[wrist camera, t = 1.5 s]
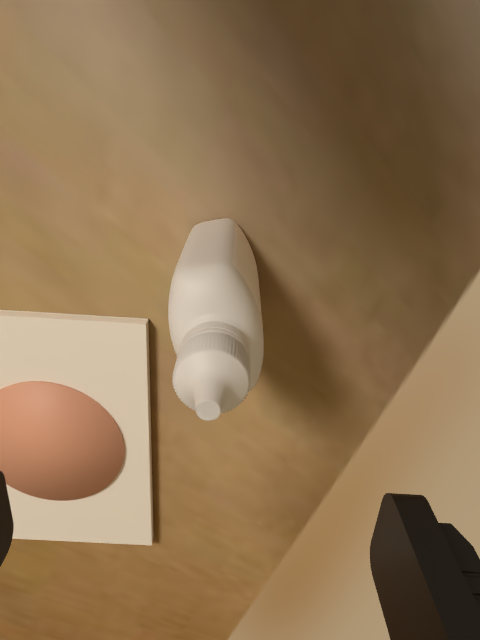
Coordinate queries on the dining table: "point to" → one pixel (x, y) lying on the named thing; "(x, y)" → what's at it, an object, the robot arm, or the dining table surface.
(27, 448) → the card
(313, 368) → the dining table surface
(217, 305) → the eye dropper bottle
